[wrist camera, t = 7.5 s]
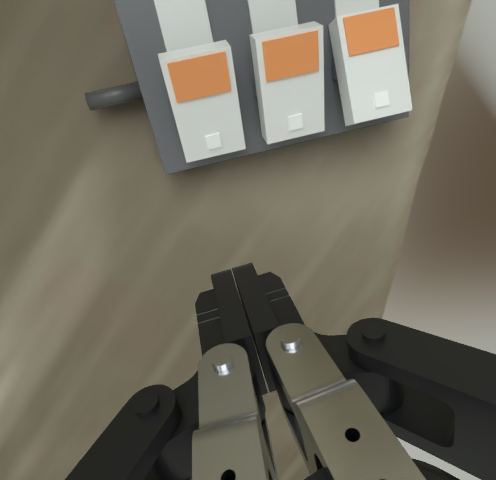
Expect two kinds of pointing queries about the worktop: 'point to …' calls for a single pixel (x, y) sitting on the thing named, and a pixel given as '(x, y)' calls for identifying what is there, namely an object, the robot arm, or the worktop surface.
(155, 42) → the rocker switch panel
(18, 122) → the worktop surface
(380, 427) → the robot arm
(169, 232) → the worktop surface
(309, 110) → the block
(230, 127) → the rocker
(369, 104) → the block
